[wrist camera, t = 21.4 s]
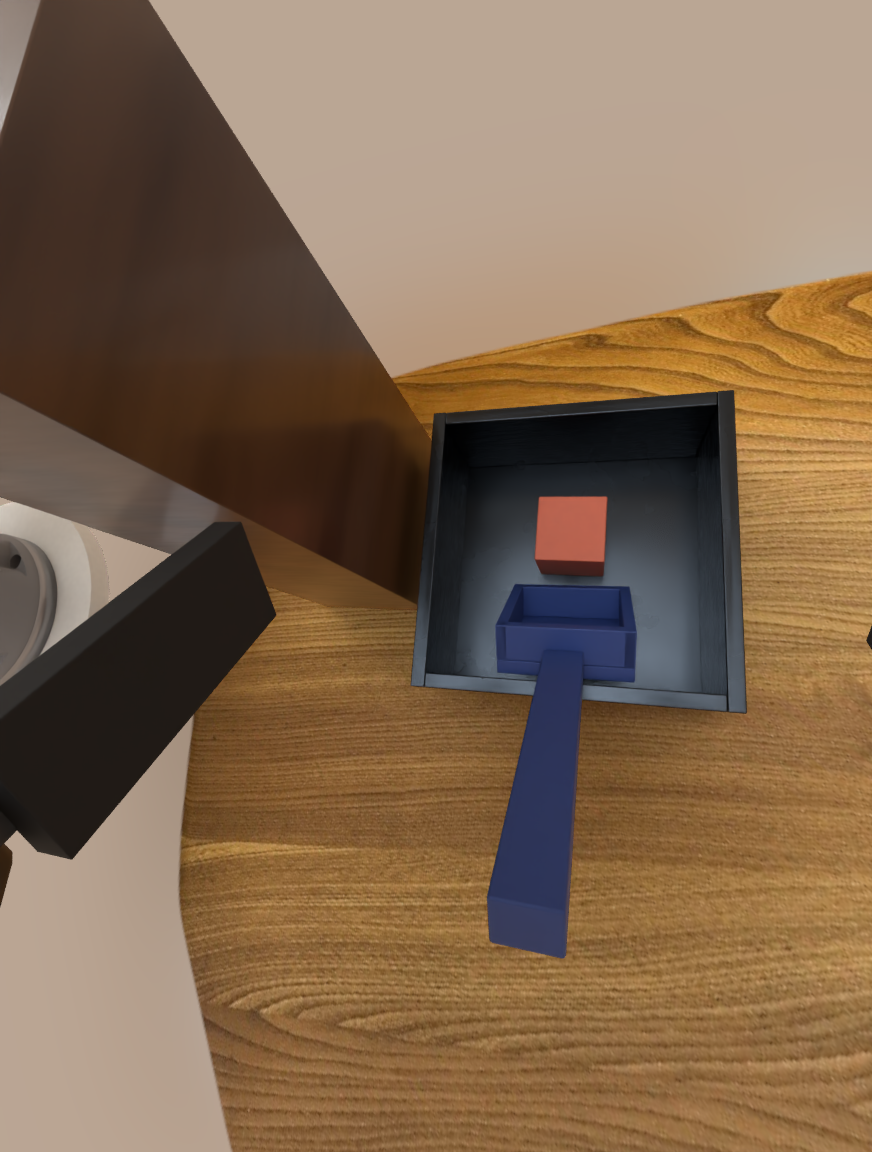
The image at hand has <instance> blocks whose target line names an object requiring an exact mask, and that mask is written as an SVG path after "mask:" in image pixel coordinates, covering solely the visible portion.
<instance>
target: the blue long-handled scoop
mask: <svg viewBox="0 0 872 1152" xmlns="http://www.w3.org/2000/svg"><path fill="white" fill-rule="evenodd" d="M495 634H496V657H497V672H498V673H508V674H522V675H536V676H538V677H537V681H536V686H535V690H534V694H533V699H532V703H531V707H530V712H529V716H528V720H527V725H526V729H525V733H524V738H523V742H522V746H521V751H520V755H519V759H518V764H517V768H516V773H515V777H514V781H513V786H512V790H511V794H510V799H509V803H508V807H507V812H506V816H505V820H504V825H503V829H502V833H501V838H500V842H499V846H498V851H497V855H496V860H495V864H494V868H493V873H492V877H491V881H490V886H489V890H488V894H487V907H488V925H489V939H490V941H491V942H492V943H496V944H500V945H505V946H509V947H514V948H518V949H522V950H527V951H531V952H536V953H540V954H545V955H549V956H553V957H558V958H565V956H566V948H567V932H568V915H569V899H570V883H571V867H572V851H573V835H574V819H575V803H576V787H577V770H578V754H579V738H580V722H581V706H582V690H583V679H591V680H605V681H619V682H633V683H634V682H635V667H636V643H637V630H636V624H635V617H634V611H633V605H632V599H631V592H630V587H629V586H583V585H537V584H515V585H514V587H513V589H512V591H511V593H510V595H509V598H508V600H507V602H506V604H505V606H504V608H503V610H502V612H501V614H500V617H499V619H498V621H497V623H496V625H495Z"/></svg>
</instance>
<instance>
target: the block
mask: <svg viewBox="0 0 872 1152" xmlns="http://www.w3.org/2000/svg"><path fill="white" fill-rule="evenodd" d="M606 519H607V497H539V502H538V516H537V530H536V544H535V558H534V559H535V561H536V563H537V566H538V568H539V570H540V572H541V574H554V575H578V576H604V563H605V541H606Z"/></svg>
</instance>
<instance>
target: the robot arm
mask: <svg viewBox="0 0 872 1152" xmlns="http://www.w3.org/2000/svg"><path fill="white" fill-rule="evenodd" d="M56 606H57V584H56V578H55V573H54V570H53V567H52V565H51V562H50V560H49V559H48V557H47V555H46V554H45V553H44V551H43V550H42V549H41V548H40V547H39V546H37V545H36V544H34V543H32V542H31V541H28V540H25V539H22V538H18V537H15V536H11V535H7V534H0V906H1V902H2V899H3V895H4V891H5V888H6V884H7V880H8V877H9V873H10V869H11V866H12V851H11V850H10V849H9V848H8V847H7V846H6V845H5V844H4V843H5V842H6V841H7V840H8V839H9V838H10V837H11V836H12V835H13V834H14V833H15V831H18V832H19V833H21V835H22V836H23V837H24V838H25V839H26V840H27V841H28V842H29V843H30V844H31V845H32V846H33V847H34V848H35V849H36V850H37V852H41V853H46V854H50V855H54V856H59V857H63V858H67V859H73V858H74V857H75V856H76V854H77V853H78V852H79V851H80V849H81V848H82V847H83V846H84V845H85V843H86V842H87V841H88V840H89V839H90V838H91V836H92V835H93V834H94V833H95V832H96V830H97V829H98V828H99V827H100V826H101V824H102V823H103V822H104V821H105V820H106V818H107V817H108V816H109V815H110V814H111V812H112V811H113V810H114V809H115V807H116V806H117V805H118V804H119V803H120V802H121V800H122V799H123V798H124V797H125V796H126V794H127V793H128V792H129V791H130V790H131V788H132V787H133V786H134V785H135V784H136V782H137V781H138V780H139V779H140V778H141V776H142V775H143V774H144V773H145V772H146V770H147V769H148V768H149V767H150V766H151V765H152V763H153V762H154V761H155V760H156V758H157V757H158V756H159V755H160V754H161V753H162V751H163V750H164V749H165V748H166V747H167V745H168V744H169V743H170V742H171V741H172V739H173V738H174V737H175V736H176V735H177V733H178V732H179V731H180V730H181V729H182V727H183V726H184V725H185V724H186V723H187V722H188V720H189V719H190V718H191V717H192V716H193V714H194V713H195V712H196V711H197V710H198V708H199V707H200V706H201V705H202V704H203V702H204V701H205V700H206V699H207V698H208V696H209V695H210V694H211V693H212V692H213V690H214V689H215V688H216V687H217V686H218V684H219V683H220V682H221V681H222V680H223V678H224V677H225V676H226V675H227V674H228V672H229V671H230V670H231V669H232V668H233V666H234V665H235V664H236V663H237V662H238V660H239V659H240V658H241V657H242V656H243V655H244V653H245V652H246V651H247V650H248V649H249V647H250V646H251V645H252V644H253V643H254V641H255V640H256V639H257V638H258V637H259V635H260V634H261V633H262V632H263V631H264V629H265V628H266V627H267V626H268V625H269V623H270V622H271V621H272V620H273V619H274V617H275V616H276V612H275V610H274V607H273V604H272V602H271V599H270V596H269V594H268V591H267V589H266V586H265V583H264V581H263V578H262V575H261V573H260V570H259V567H258V565H257V562H256V560H255V557H254V554H253V552H252V549H251V546H250V544H249V541H248V538H247V536H246V533H245V530H244V528H243V525H242V523H241V522H214V523H212V524H211V525H210V526H208V527H207V528H206V529H204V530H203V531H202V532H201V533H199V534H198V535H197V536H195V537H194V538H193V539H191V540H190V541H189V542H187V543H186V544H185V545H184V546H182V547H181V548H180V549H178V550H177V551H176V552H174V553H173V554H172V555H171V556H169V557H168V558H167V559H165V560H164V561H163V562H161V563H160V564H159V565H158V566H156V567H155V568H154V569H152V570H151V571H150V572H148V573H147V574H146V575H145V576H143V577H142V578H141V579H139V580H138V581H137V582H135V583H134V584H133V585H131V586H130V587H129V588H128V589H126V590H125V591H124V592H122V593H121V594H120V595H118V596H117V597H116V598H115V599H113V600H112V601H111V602H109V603H108V604H107V605H105V606H104V607H103V608H101V609H100V610H99V611H97V612H96V613H95V614H93V615H92V616H91V617H90V618H88V619H87V620H86V621H84V622H83V623H82V624H80V625H79V626H78V627H76V628H75V629H74V630H73V631H71V632H70V633H69V634H67V635H66V636H65V637H63V638H62V639H61V640H59V641H58V642H57V643H56V644H54V645H53V646H52V647H50V648H49V649H48V650H46V651H45V652H44V653H43V654H41V652H42V650H43V648H44V646H45V644H46V642H47V640H48V637H49V635H50V632H51V629H52V626H53V622H54V618H55V613H56ZM866 641H867V643H868V644H869V646H870V647H871V649H872V626H871V629H870V632H869V635H868V637H867V640H866ZM40 654H41V655H40ZM39 655H40V656H39Z"/></svg>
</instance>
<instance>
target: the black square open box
mask: <svg viewBox="0 0 872 1152" xmlns="http://www.w3.org/2000/svg"><path fill="white" fill-rule="evenodd" d="M539 497H607V519H606V541H605V563H604V576H578V575H554V574H541V572H540V570H539V568H538V566H537V563H536V561H535V559H534V558H535V544H536V530H537V516H538V502H539ZM515 584H537V585H583V586H629V587H630V592H631V599H632V605H633V611H634V617H635V624H636V630H637V643H636V667H635V682H634V683H633V682H619V681H605V680H591V679H583V690H582V700H586V701H598V702H610V703H622V704H634V705H647V706H659V707H671V708H683V709H695V710H707V711H719V712H731V713H743V714H746V713H747V701H746V676H745V651H744V626H743V601H742V576H741V551H740V526H739V501H738V476H737V451H736V425H735V400H734V390H729V391H718V392H706V393H694V394H681V395H668V396H656V397H643V398H630V399H617V400H605V401H592V402H579V403H567V404H554V405H541V406H529V407H516V408H503V409H491V410H478V411H465V412H453V413H447V414H446V413H436V414H434V420H433V431H432V443H431V455H430V466H429V478H428V489H427V501H426V513H425V524H424V536H423V548H422V559H421V571H420V582H419V594H418V606H417V617H416V629H415V641H414V652H413V664H412V675H411V686H417V687H429V688H441V689H453V690H465V691H477V692H489V693H501V694H514V695H526V696H533V694H534V690H535V686H536V681H537V677H538V676H536V675H522V674H508V673H498V672H497V657H496V634H495V625H496V623H497V621H498V619H499V617H500V614H501V612H502V610H503V608H504V606H505V604H506V602H507V600H508V598H509V595H510V593H511V591H512V589H513V587H514V585H515Z"/></svg>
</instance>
